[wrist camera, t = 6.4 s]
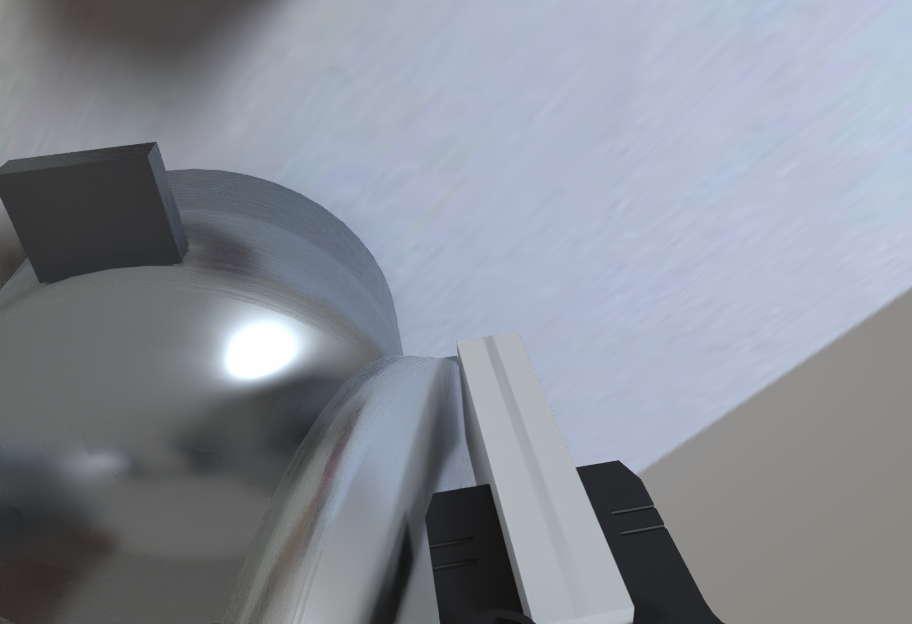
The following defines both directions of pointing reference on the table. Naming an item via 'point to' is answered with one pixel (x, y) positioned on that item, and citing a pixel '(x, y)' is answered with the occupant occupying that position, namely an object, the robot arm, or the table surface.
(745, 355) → the table surface
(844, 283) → the table surface
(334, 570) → the lid
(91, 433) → the pot
